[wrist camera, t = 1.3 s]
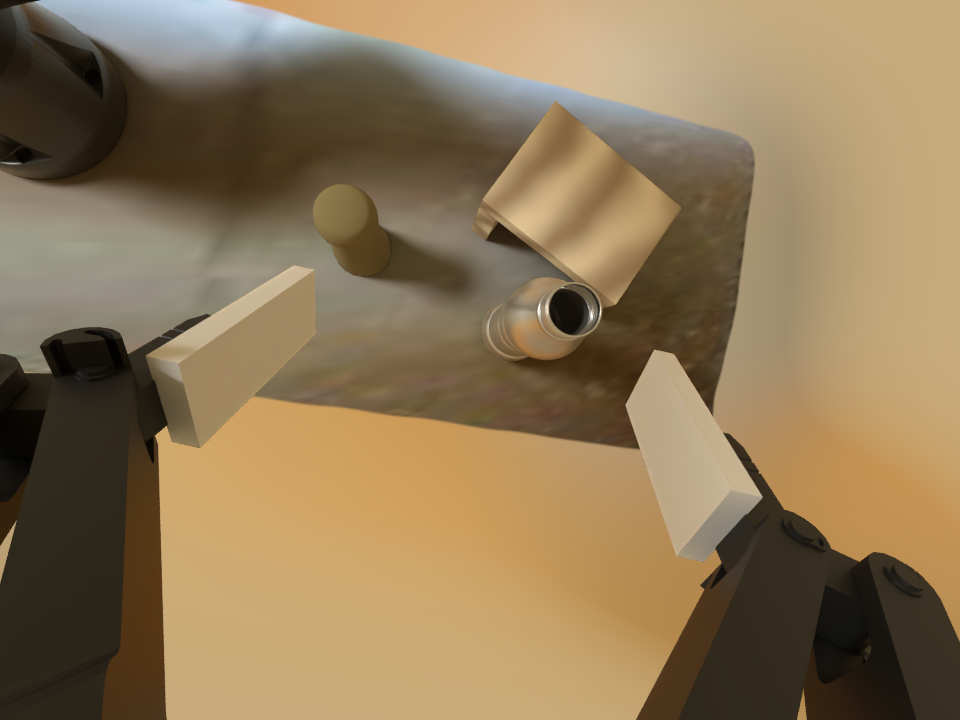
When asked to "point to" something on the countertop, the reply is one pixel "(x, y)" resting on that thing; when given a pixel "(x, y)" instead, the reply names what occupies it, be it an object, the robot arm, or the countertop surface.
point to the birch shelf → (578, 205)
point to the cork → (352, 229)
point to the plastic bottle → (542, 320)
